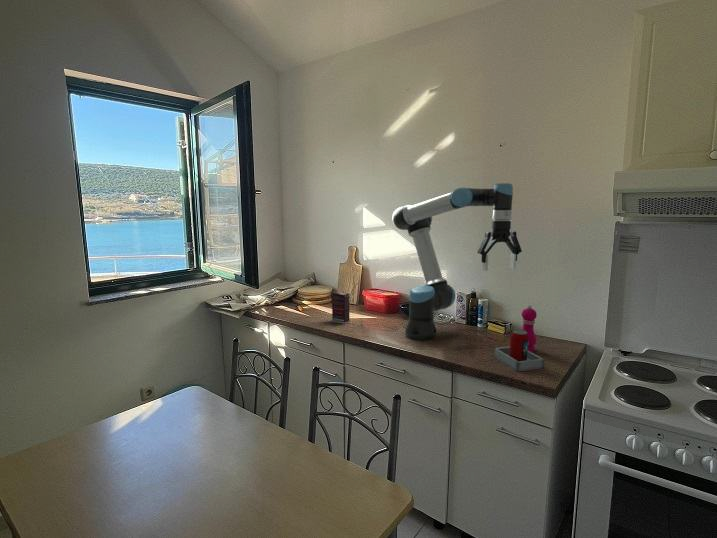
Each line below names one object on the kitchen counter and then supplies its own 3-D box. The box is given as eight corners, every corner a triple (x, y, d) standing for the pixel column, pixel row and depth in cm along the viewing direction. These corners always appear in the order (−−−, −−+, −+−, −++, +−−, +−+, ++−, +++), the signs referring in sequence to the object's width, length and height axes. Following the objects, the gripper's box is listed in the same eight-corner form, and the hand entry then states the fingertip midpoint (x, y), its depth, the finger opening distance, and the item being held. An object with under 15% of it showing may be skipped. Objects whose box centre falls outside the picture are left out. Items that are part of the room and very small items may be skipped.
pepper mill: (520, 345, 183) (523, 302, 179) (537, 349, 178) (541, 304, 175) (515, 350, 177) (518, 305, 174) (532, 353, 173) (536, 308, 169)
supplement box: (350, 321, 219) (349, 293, 216) (344, 324, 215) (344, 294, 212) (337, 319, 223) (336, 291, 221) (331, 321, 219) (331, 292, 217)
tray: (493, 356, 170) (493, 348, 169) (517, 353, 173) (518, 345, 173) (517, 371, 155) (517, 362, 154) (543, 368, 158) (544, 359, 157)
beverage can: (528, 364, 160) (530, 334, 158) (510, 362, 161) (512, 333, 159) (525, 357, 166) (527, 329, 164) (507, 356, 168) (509, 328, 166)
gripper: (480, 221, 166) (478, 272, 170) (532, 220, 173) (529, 269, 176) (470, 220, 174) (468, 269, 177) (521, 219, 180) (518, 266, 184)
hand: (498, 269), depth 177 cm, fingers open, 13 cm apart
